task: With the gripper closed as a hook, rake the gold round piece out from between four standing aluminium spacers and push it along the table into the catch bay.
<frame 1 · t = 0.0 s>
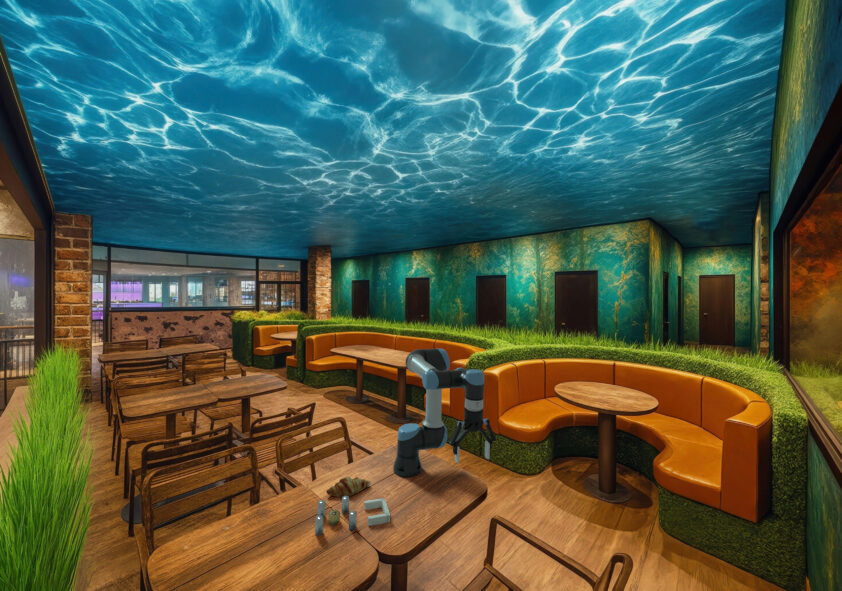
hand: (472, 459, 141), 28 cm above the table, fingers open, 13 cm apart
gold round piece: (334, 522, 143), on the table
spacers: (334, 521, 143), on the table
croissant: (349, 492, 164), on the table
bay: (377, 514, 148), on the table
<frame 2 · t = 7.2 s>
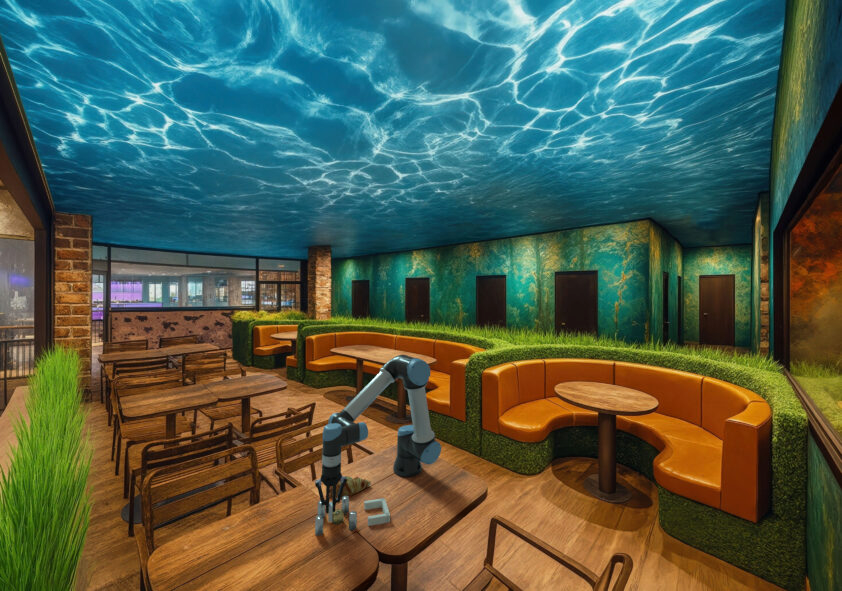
hand: (330, 519, 142), 1 cm above the table, fingers closed
gold round piece: (337, 521, 143), on the table, touching gripper
everything else where it was.
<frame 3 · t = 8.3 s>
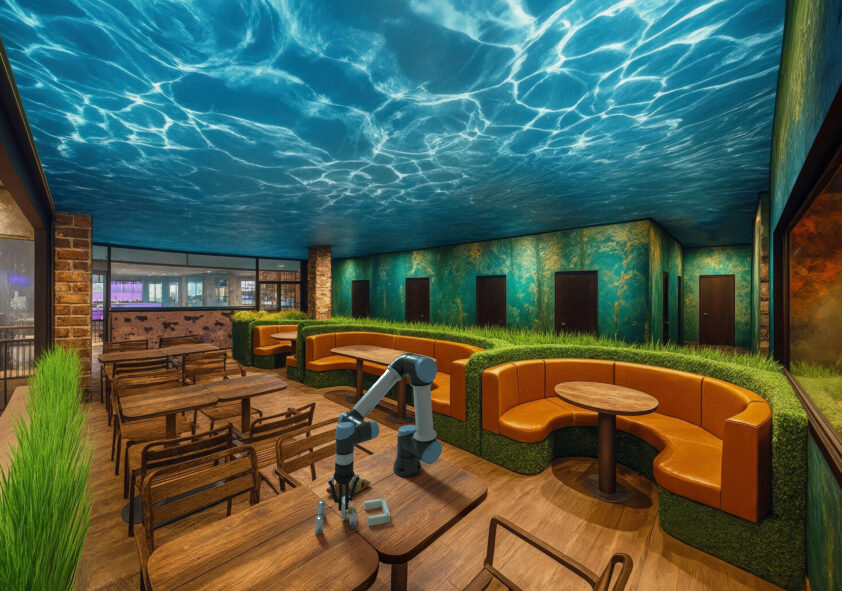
hand: (342, 517, 144), 1 cm above the table, fingers closed
gold round piece: (350, 519, 145), on the table, touching gripper
everything else where it was.
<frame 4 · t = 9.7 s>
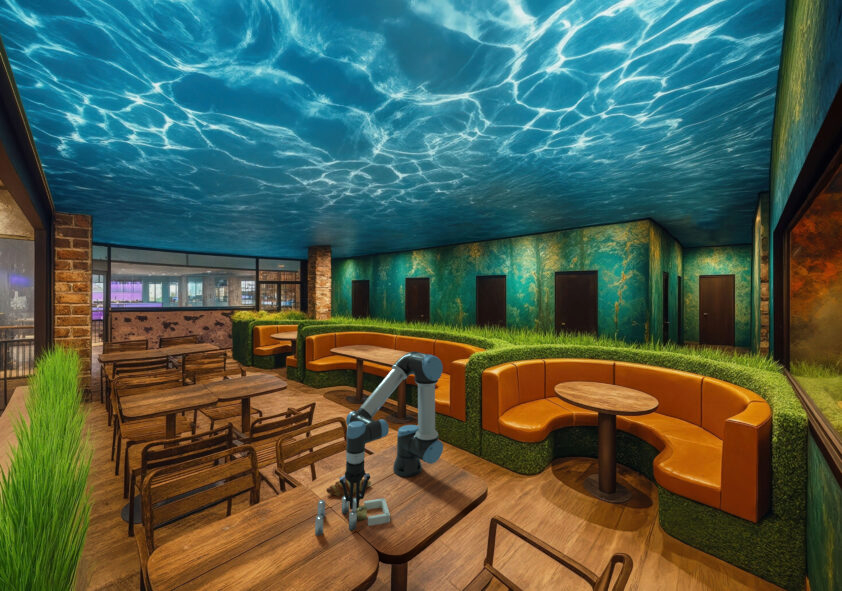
hand: (354, 515, 145), 1 cm above the table, fingers closed
gold round piece: (361, 517, 146), on the table, touching gripper
everything else where it was.
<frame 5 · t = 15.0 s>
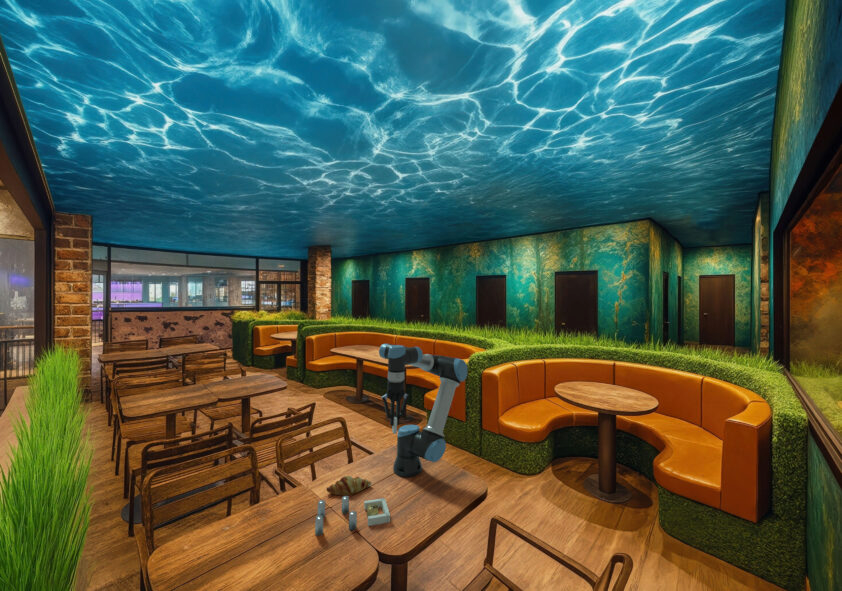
hand: (394, 432, 155), 32 cm above the table, fingers closed
gold round piece: (372, 515, 147), on the table
everything else where it was.
at the end: gold round piece inside the target area (1.0 cm from its centre), on the table; gold round piece moved 16.0 cm from its start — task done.
